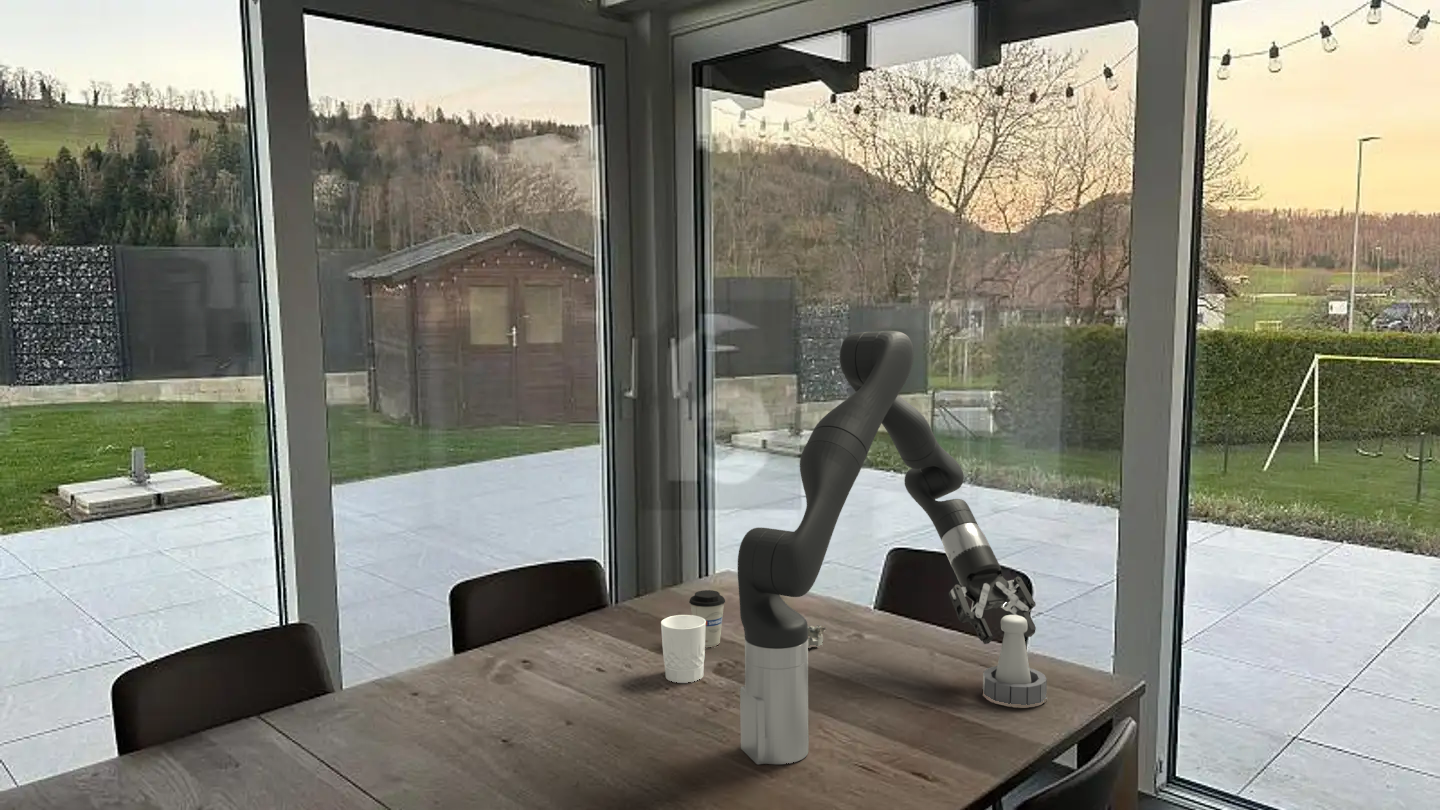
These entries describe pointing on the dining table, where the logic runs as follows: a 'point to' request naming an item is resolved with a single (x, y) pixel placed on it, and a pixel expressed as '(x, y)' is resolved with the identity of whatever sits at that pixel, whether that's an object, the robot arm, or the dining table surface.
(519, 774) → the dining table surface
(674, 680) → the white cup
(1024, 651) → the salt shaker
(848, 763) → the dining table surface
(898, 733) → the dining table surface
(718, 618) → the coffee cup
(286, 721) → the dining table surface
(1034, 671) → the bowl
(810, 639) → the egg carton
